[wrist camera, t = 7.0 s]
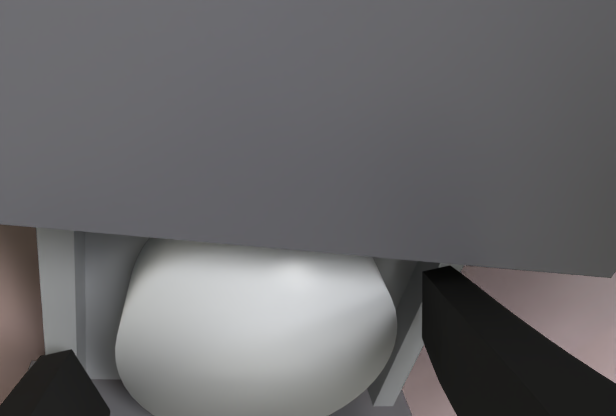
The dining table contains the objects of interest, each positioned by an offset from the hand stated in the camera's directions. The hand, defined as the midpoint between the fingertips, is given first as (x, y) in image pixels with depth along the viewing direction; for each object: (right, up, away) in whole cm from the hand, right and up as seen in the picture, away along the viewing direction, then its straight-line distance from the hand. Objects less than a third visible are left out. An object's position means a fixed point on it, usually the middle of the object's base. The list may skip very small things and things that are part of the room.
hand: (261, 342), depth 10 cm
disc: (0, +1, +1) cm, 1 cm away
